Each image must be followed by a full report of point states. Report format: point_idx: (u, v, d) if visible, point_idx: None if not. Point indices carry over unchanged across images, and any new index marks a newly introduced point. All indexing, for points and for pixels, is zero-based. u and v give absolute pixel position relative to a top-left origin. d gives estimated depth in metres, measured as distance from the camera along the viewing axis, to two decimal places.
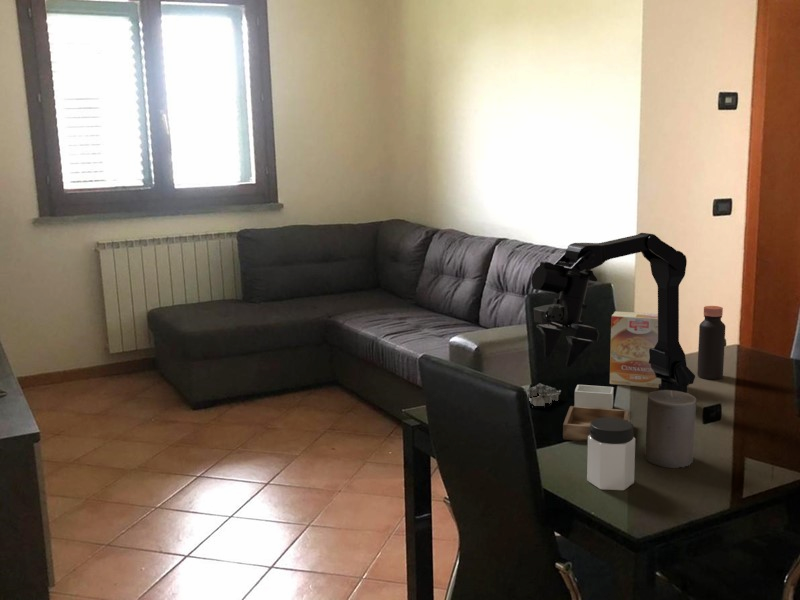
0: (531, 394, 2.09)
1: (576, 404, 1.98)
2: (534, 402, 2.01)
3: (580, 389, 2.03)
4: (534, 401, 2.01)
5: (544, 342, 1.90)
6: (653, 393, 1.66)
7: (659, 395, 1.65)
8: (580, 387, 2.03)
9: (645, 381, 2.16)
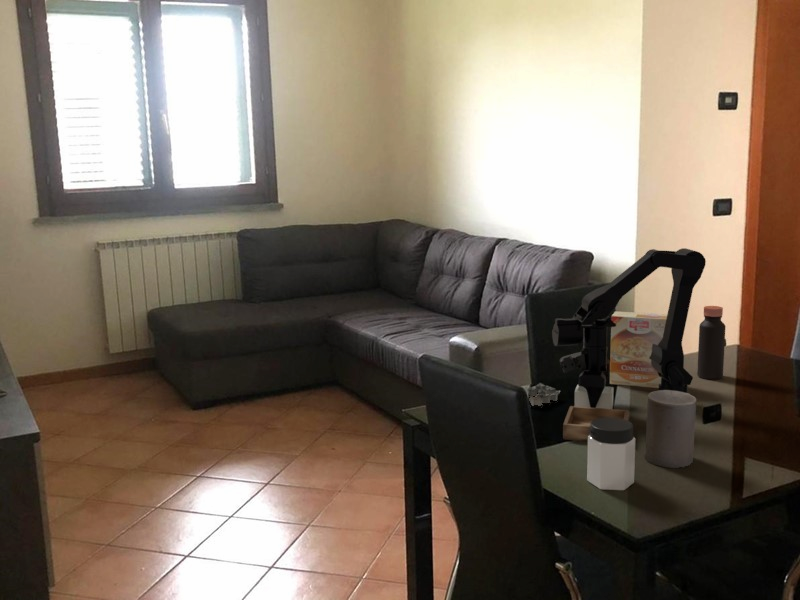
0: (530, 394, 2.09)
1: (576, 404, 1.98)
2: (532, 402, 2.02)
3: (580, 389, 2.03)
4: (532, 401, 2.02)
5: None
6: (653, 393, 1.66)
7: (659, 395, 1.65)
8: (580, 387, 2.03)
9: (645, 381, 2.16)
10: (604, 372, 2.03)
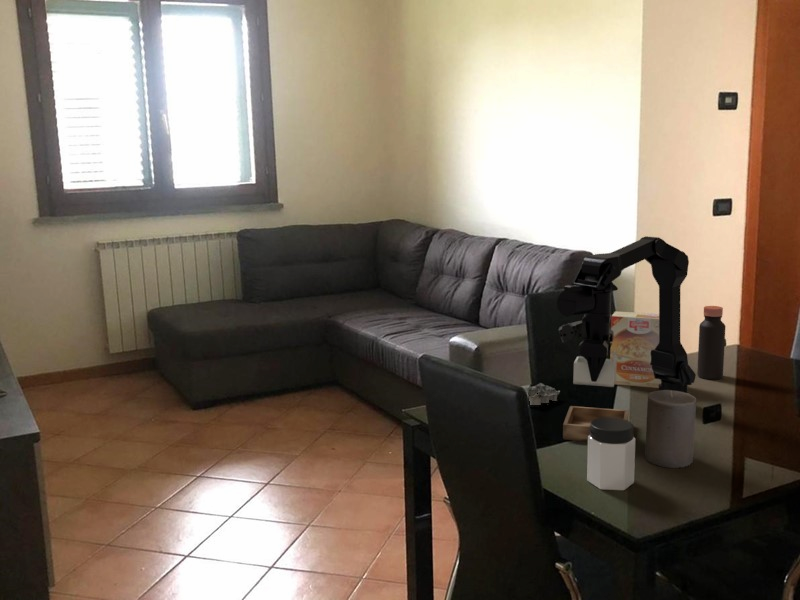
0: (530, 393, 2.09)
1: (575, 377, 1.82)
2: (530, 401, 2.02)
3: (580, 361, 1.86)
4: (530, 400, 2.02)
5: None
6: (653, 393, 1.66)
7: (659, 395, 1.65)
8: (580, 359, 1.86)
9: (645, 381, 2.16)
10: (607, 343, 1.86)
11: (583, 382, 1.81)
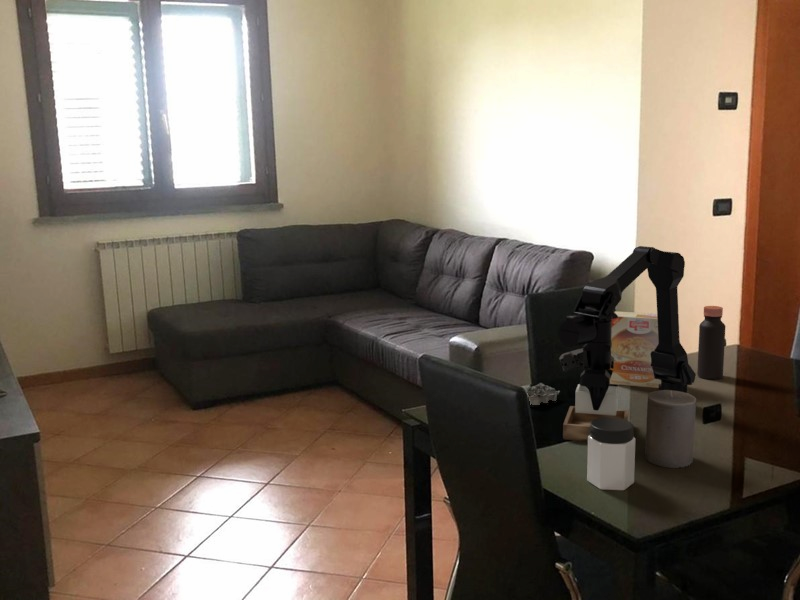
0: (530, 393, 2.09)
1: (577, 405, 1.81)
2: None
3: (581, 389, 1.86)
4: (529, 400, 2.02)
5: None
6: (653, 393, 1.66)
7: (659, 395, 1.65)
8: (581, 387, 1.85)
9: (645, 381, 2.16)
10: (608, 370, 1.86)
11: (585, 411, 1.81)
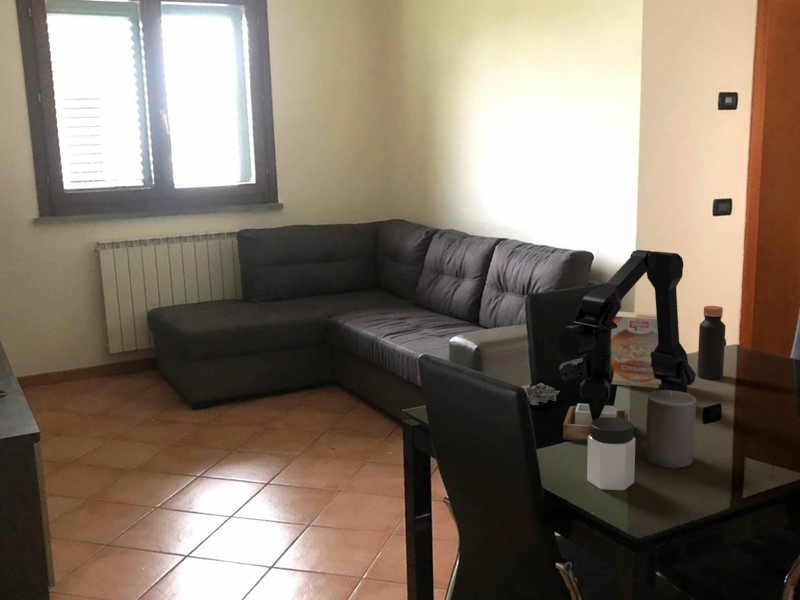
0: (530, 393, 2.09)
1: None
2: None
3: (581, 408, 1.86)
4: None
5: None
6: (653, 393, 1.66)
7: (659, 395, 1.65)
8: (581, 406, 1.86)
9: (645, 381, 2.16)
10: (608, 378, 1.87)
11: None
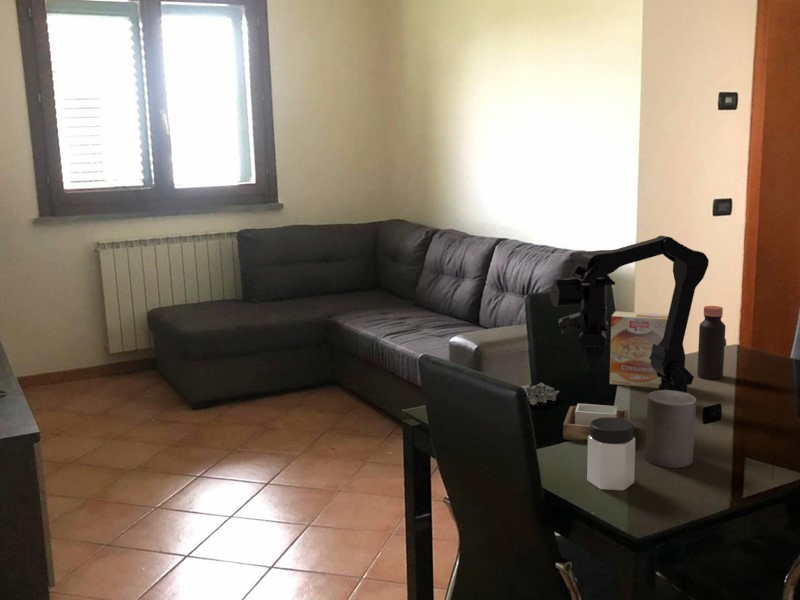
0: (529, 393, 2.10)
1: None
2: None
3: (581, 408, 1.86)
4: None
5: None
6: (653, 393, 1.66)
7: (659, 395, 1.65)
8: (581, 406, 1.86)
9: (645, 381, 2.16)
10: (603, 332, 2.00)
11: None
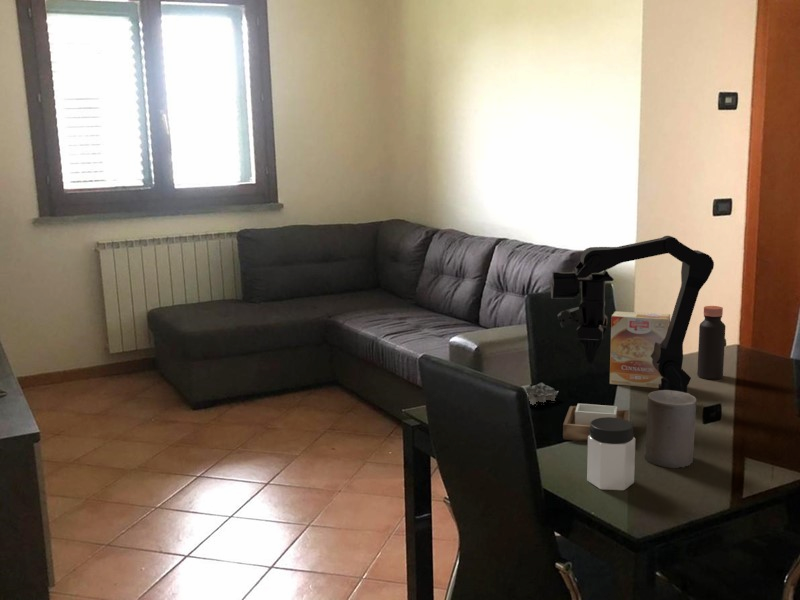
0: (529, 393, 2.10)
1: None
2: None
3: (581, 408, 1.86)
4: None
5: None
6: (653, 393, 1.66)
7: (659, 395, 1.65)
8: (581, 406, 1.86)
9: (645, 381, 2.16)
10: (602, 326, 2.06)
11: None
